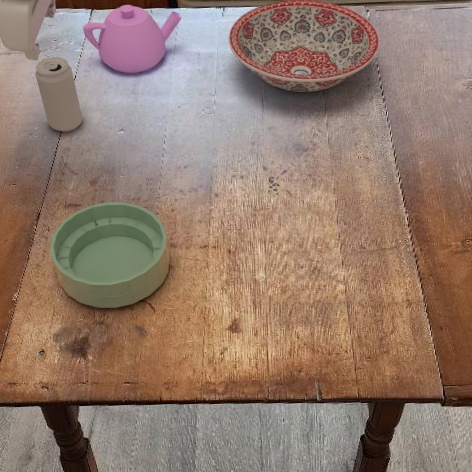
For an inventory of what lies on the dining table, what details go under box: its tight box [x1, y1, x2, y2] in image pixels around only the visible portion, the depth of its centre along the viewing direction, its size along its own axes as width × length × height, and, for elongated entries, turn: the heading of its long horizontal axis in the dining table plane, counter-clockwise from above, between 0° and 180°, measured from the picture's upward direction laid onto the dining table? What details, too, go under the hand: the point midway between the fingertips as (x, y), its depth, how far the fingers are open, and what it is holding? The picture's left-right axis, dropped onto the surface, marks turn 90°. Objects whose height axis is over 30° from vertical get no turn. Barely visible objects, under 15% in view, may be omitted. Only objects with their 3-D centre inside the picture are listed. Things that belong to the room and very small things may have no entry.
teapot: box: [82, 4, 182, 74], centre depth 138 cm, size 14×20×11 cm
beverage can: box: [35, 56, 83, 133], centre depth 124 cm, size 6×6×12 cm
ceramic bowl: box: [228, 0, 380, 93], centre depth 135 cm, size 29×29×8 cm
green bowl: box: [49, 201, 171, 309], centre depth 103 cm, size 17×17×6 cm
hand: (41, 35), depth 101 cm, fingers open, 8 cm apart
